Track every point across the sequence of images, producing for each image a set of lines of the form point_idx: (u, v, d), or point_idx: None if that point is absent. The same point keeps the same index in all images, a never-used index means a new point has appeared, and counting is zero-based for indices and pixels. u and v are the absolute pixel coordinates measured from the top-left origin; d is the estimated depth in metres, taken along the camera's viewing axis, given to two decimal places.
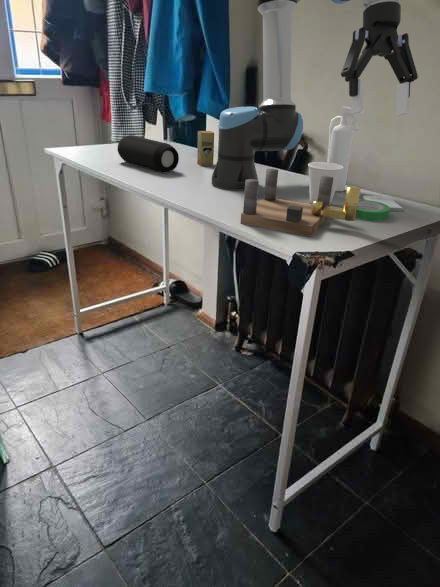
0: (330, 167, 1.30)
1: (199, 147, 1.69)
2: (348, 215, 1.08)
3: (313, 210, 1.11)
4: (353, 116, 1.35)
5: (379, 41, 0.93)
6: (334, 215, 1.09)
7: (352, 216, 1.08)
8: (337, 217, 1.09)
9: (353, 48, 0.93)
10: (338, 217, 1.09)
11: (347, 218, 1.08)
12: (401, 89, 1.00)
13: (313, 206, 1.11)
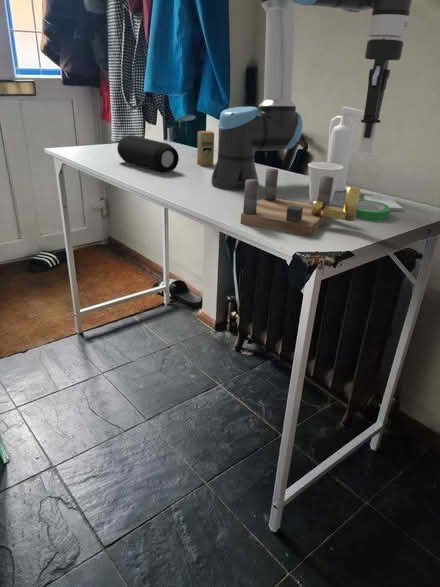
0: (330, 167, 1.30)
1: (199, 147, 1.69)
2: (348, 215, 1.08)
3: (313, 210, 1.11)
4: (353, 116, 1.35)
5: (385, 79, 0.99)
6: (334, 215, 1.09)
7: (352, 216, 1.08)
8: (337, 217, 1.09)
9: (373, 96, 0.98)
10: (338, 217, 1.09)
11: (347, 218, 1.08)
12: None
13: (313, 206, 1.11)
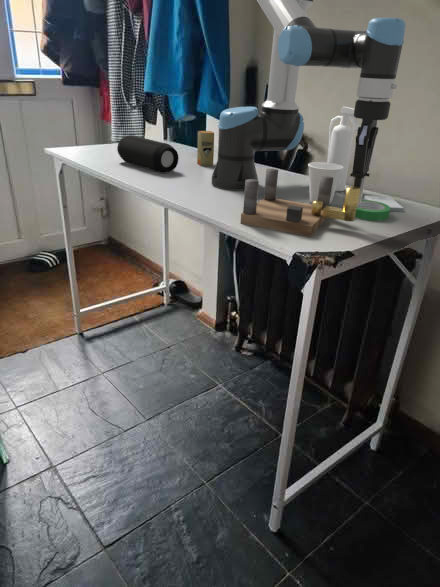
0: (330, 167, 1.30)
1: (199, 147, 1.69)
2: (347, 215, 1.07)
3: (313, 210, 1.11)
4: (353, 116, 1.35)
5: (373, 137, 1.01)
6: (334, 215, 1.09)
7: (351, 217, 1.07)
8: (336, 217, 1.09)
9: (360, 154, 1.01)
10: (337, 217, 1.09)
11: (346, 218, 1.08)
12: None
13: (313, 206, 1.11)
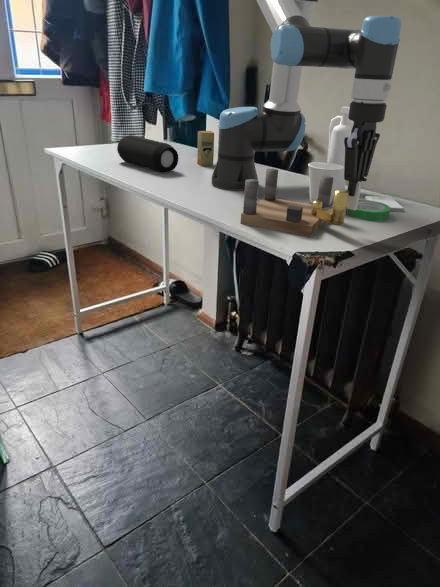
0: (330, 167, 1.30)
1: (199, 147, 1.69)
2: (332, 218, 1.05)
3: None
4: None
5: (366, 140, 0.97)
6: (323, 216, 1.08)
7: (336, 221, 1.04)
8: (325, 219, 1.07)
9: (350, 157, 0.97)
10: (326, 219, 1.07)
11: (331, 221, 1.05)
12: None
13: (312, 205, 1.12)
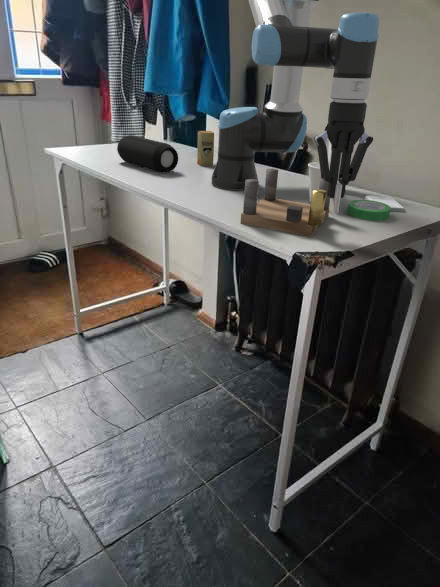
0: None
1: (199, 147, 1.69)
2: None
3: None
4: None
5: (340, 141, 0.95)
6: None
7: (310, 219, 1.04)
8: None
9: (320, 156, 0.97)
10: None
11: (308, 220, 1.05)
12: None
13: None
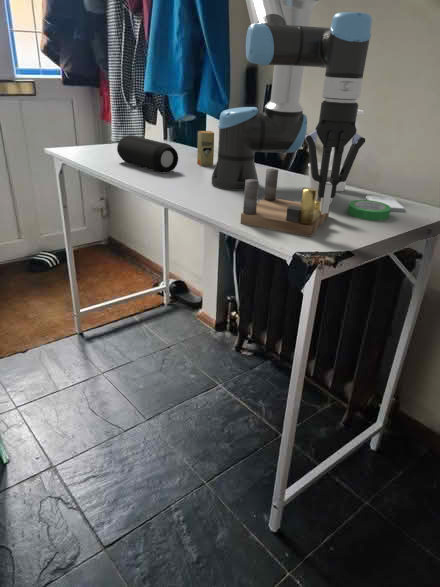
0: (330, 167, 1.30)
1: (199, 147, 1.69)
2: None
3: None
4: None
5: (329, 140, 0.94)
6: None
7: (300, 217, 1.05)
8: None
9: (310, 155, 0.97)
10: None
11: None
12: None
13: None
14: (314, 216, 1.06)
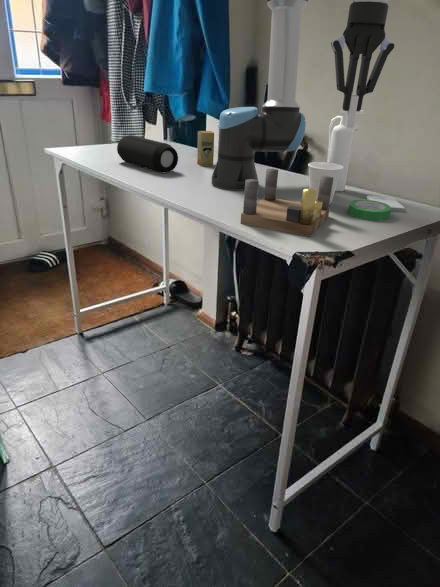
0: (330, 167, 1.30)
1: (199, 147, 1.69)
2: None
3: None
4: None
5: (357, 46, 0.92)
6: None
7: (299, 217, 1.05)
8: None
9: (336, 63, 0.94)
10: None
11: None
12: None
13: None
14: (314, 216, 1.06)
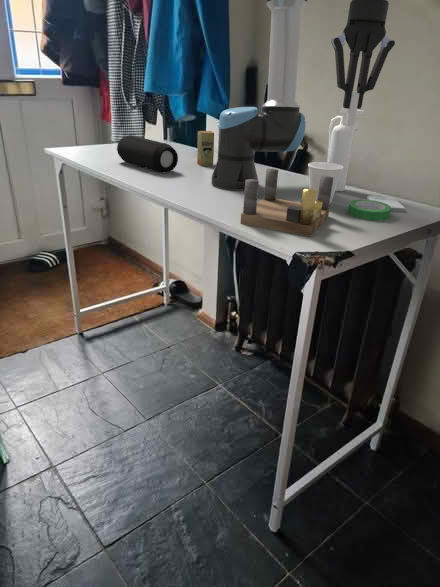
0: (330, 167, 1.30)
1: (199, 147, 1.69)
2: None
3: None
4: None
5: (358, 43, 0.91)
6: None
7: (299, 217, 1.05)
8: None
9: (337, 60, 0.94)
10: None
11: None
12: None
13: None
14: (314, 216, 1.06)
